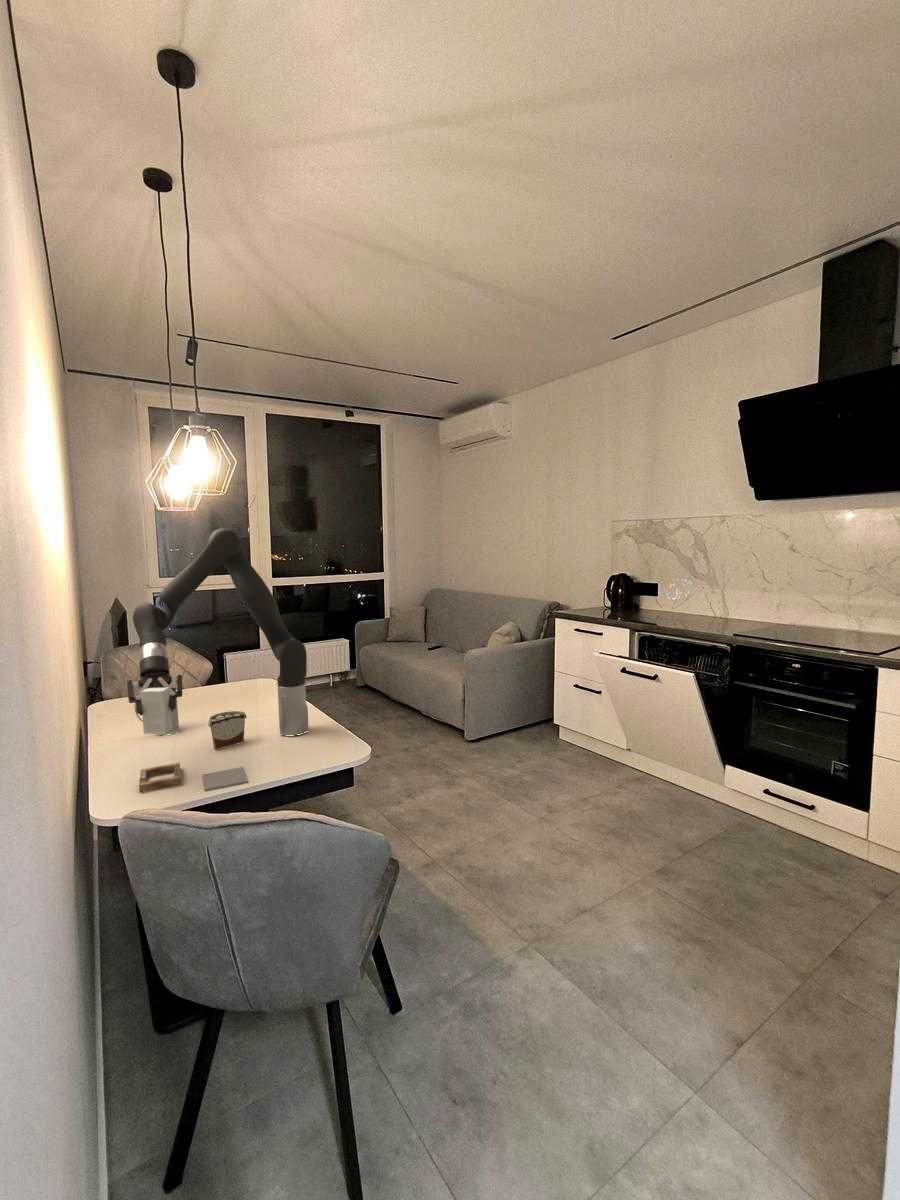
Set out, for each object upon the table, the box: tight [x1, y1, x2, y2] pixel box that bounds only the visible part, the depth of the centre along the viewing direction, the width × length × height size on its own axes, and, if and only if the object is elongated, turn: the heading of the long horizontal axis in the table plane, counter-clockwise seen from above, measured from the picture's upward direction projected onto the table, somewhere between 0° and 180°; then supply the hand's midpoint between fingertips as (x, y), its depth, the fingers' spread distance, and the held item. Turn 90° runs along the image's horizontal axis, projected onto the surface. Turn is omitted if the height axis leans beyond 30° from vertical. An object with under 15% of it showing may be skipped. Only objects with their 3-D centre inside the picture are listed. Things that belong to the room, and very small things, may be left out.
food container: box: [207, 710, 248, 751], centre depth 182 cm, size 12×6×10 cm, turn 134°
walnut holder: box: [138, 762, 182, 793], centre depth 154 cm, size 10×12×2 cm
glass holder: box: [134, 687, 181, 736], centre depth 192 cm, size 9×14×15 cm, turn 141°
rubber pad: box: [201, 766, 249, 792], centre depth 155 cm, size 11×11×1 cm
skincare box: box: [141, 687, 172, 735], centre depth 153 cm, size 6×4×12 cm
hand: (156, 711), depth 151 cm, fingers closed on skincare box, 7 cm apart
